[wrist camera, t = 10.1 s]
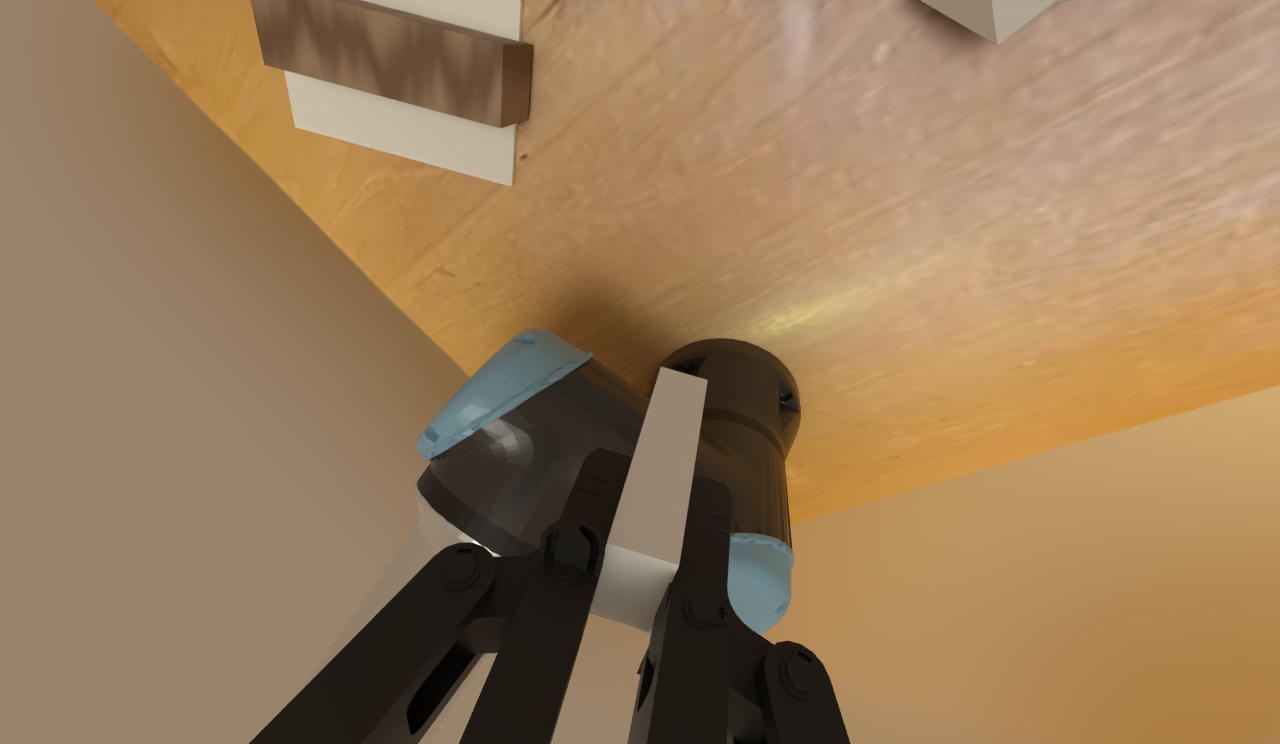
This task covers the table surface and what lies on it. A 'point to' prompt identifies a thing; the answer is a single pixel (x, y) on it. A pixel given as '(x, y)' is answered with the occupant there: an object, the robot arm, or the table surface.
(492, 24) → the mat
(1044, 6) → the die
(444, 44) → the walnut block
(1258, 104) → the table surface
